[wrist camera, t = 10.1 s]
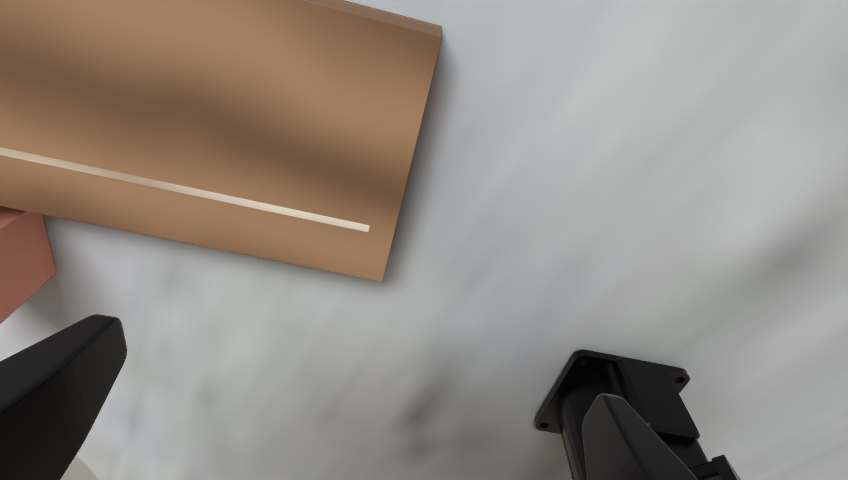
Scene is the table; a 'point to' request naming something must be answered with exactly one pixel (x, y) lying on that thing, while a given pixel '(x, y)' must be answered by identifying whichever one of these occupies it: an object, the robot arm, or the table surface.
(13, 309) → the pink and yellow hammer
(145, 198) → the board
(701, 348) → the table surface
